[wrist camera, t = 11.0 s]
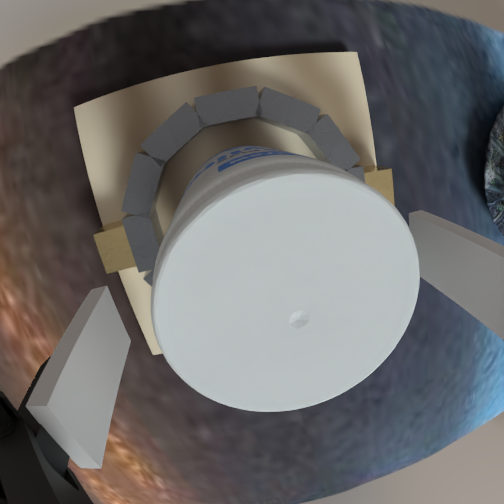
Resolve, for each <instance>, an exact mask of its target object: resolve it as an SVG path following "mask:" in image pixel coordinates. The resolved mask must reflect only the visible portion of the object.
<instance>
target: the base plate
mask: <svg viewBox="0 0 504 504" xmlns="http://www.w3.org/2000/svg"><path fill="white" fill-rule="evenodd" d="M252 86H257V91H258V93H259V91H261V90H262V89H263V88H264V87H267V88H270V89H273V90H275V91H278V92H281V93H283V94H286V95H289V96H291V97H294V98H296V99H299V100H301V101H304V102H306V103H308V104H311V105H313V106H315V107H318V108H320V109H321V111H320V113H319V115H323V114H328V115H329V117H330V118H331V119H332V121H333V122H334V123H335V124H336V126H337V127H338V128H339V130H340V131H341V132H342V134H343V135H344V137H345V138H346V139H347V141H348V142H349V143H350V145H351V146H352V148H353V149H354V150H355V152H356V153H357V155H358V156H359V158H360V159H361V160H359V161H358V162H357V163H356V164H355V165H360V166H363V167H367V166H373V165H376V158H375V150H374V142H373V135H372V128H371V121H370V115H369V109H368V104H367V98H366V93H365V87H364V82H363V77H362V73H361V68H360V64H359V59H358V55H357V52H327V53H307V54H293V55H282V56H273V57H264V58H257V59H249V60H243V61H236V62H230V63H225V64H219V65H214V66H209V67H204V68H199V69H195V70H190V71H186V72H182V73H177V74H173V75H169V76H166V77H162V78H158V79H155V80H151V81H148V82H144V83H141V84H138V85H134V86H131V87H128V88H125V89H122V90H119V91H116V92H113V93H110V94H107V95H105V96H102V97H99V98H96V99H94V100H91V101H89V102H86V103H83V104H81V105H79V106H76V107H74V112H75V117H76V122H77V127H78V132H79V137H80V142H81V146H82V151H83V155H84V159H85V164H86V168H87V172H88V176H89V180H90V183H91V187H92V191H93V194H94V198H95V201H96V205H97V208H98V212H99V215H100V218H101V222H102V225H106V224H109V223H113V222H116V221H120V220H122V218H123V217H124V216H125V215H126V214H127V213H125V212H122V211H121V210H122V205H123V201H124V196H125V192H126V188H127V184H128V180H129V176H130V172H131V168H132V165H133V161H134V157H135V154H136V153H137V152H142V151H145V150H144V149H143V148H142V147H141V146H140V145H141V144H142V143H143V142H144V141H145V140H146V139H147V138H148V137H149V136H150V135H151V134H152V133H153V132H154V131H155V130H156V129H157V128H158V127H159V126H160V125H161V124H162V123H163V122H165V121H166V120H167V119H168V118H169V117H170V116H171V115H172V114H173V113H174V112H175V111H176V110H178V109H179V108H180V107H181V106H182V105H183V104H184V103H185V102H187V103H188V104H189V105H190V106H191V107H192V108H193V109H194V110H195V111H196V112H197V110H196V105H195V101H194V98H195V97H200V96H204V95H209V94H214V93H219V92H224V91H229V90H234V89H240V88H246V87H252ZM248 145H249V146H262V147H267V148H272V149H277V150H282V151H286V152H290V153H295V154H299V155H303V156H307V157H311V158H314V159H317V158H316V157H315V156H314V154H313V153H312V152H311V150H310V149H309V148H308V147H307V145H306V144H305V143H304V142H303V141H302V139H301V138H300V137H299V136H298V135H297V134H295V133H292V132H290V131H287V130H284V129H282V128H279V127H276V126H273V125H271V124H268V123H265V122H262V121H259V120H256V119H254V118H252V119H246V120H241V121H236V122H231V123H226V124H221V125H216V126H212V127H207V128H204V129H203V130H202V131H201V132H200V133H199V134H198V135H196V136H195V137H194V138H193V139H192V140H191V141H190V142H189V143H188V144H187V145H185V146H184V147H183V148H182V149H181V150H180V151H179V152H178V153H177V154H176V155H175V156H174V157H173V158H172V159H171V160H170V161H169V162H168V165H167V168H166V172H165V175H164V179H163V182H162V186H161V189H160V193H159V197H158V201H157V204H156V210H157V214H158V218H159V221H160V225H161V228H162V232H163V235H164V236H165V234H166V231H167V229H168V227H169V224H170V222H171V220H172V218H173V216H174V214H175V212H176V209H177V207H178V205H179V203H180V201H181V199H182V197H183V194H184V192H185V190H186V188H187V186H188V184H189V182H190V180H191V179H192V177H193V176H194V174H195V173H196V172H197V170H198V169H199V168H200V167H201V166H202V165H203V164H204V163H205V162H206V161H207V160H209V159H210V158H211V157H213V156H214V155H216V154H218V153H220V152H222V151H224V150H227V149H230V148H233V147H238V146H248ZM145 152H146V151H145ZM317 160H318V159H317ZM118 272H119V275H120V277H121V280H122V283H123V285H124V288H125V290H126V293H127V296H128V298H129V301H130V303H131V306H132V308H133V310H134V313H135V315H136V318H137V320H138V322H139V325H140V327H141V329H142V332H143V334H144V336H145V338H146V341H147V343H148V345H149V347H150V349H151V351H152V354H153V355H156V354H162V351H161V349H160V347H159V345H158V342H157V340H156V337H155V334H154V330H153V326H152V320H151V290H152V287H151V286H150V285H149V284H148V283H147V282H146V281H145V280H144V279H143V278H144V275H145V273H146V271H144V272H140V273H139V272H138V269H137V266H136V267H132V268H128V269H124V270H120V271H118Z"/></svg>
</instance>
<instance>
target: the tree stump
mask: <svg viewBox="0 0 504 504" xmlns="http://www.w3.org/2000/svg"><path fill="white" fill-rule="evenodd" d="M484 179H485V191H486V199H487V205H488V208H489V210H490V212H491V215H492V219H493V222H494V224H496V225H497V226H498V228H499V230H500V232H501V233H502V234H503V235H504V105H503V106H502V108H501V109H500V111H499V112H498V114H497V117H496V120H495V122H494V124H493V126H492V129H491V132H490V136H489V139H488V143H487V147H486V149H485V165H484Z"/></svg>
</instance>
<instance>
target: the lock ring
mask: <svg viewBox="0 0 504 504" xmlns="http://www.w3.org/2000/svg"><path fill="white" fill-rule="evenodd" d="M194 101H195V105H196V110H197V112H196V111H195V110H194V109H193V108H192V107H191V106H190V105H189V104H188V103H187V102H185V103H184V104H183V105H182V106H181V107H180V108H179V109H178V110H176V111H175V112H174V113H173V114H172V115H171V116H170V117H169V118H168V119H167V120H166V121H165V122H163V123H162V124H161V125H160V126H159V127H158V128H157V129H156V130H155V131H154V132H153V133H152V134H151V135H150V136H149V137H148V138H147V139H146V140H145V141H144V142H143V143H142V144H141V145H140V146H141V147H142V148H143V149H144V150H145V151H146V152H145V151H142V152H137V153H136V154H135V157H134V161H133V165H132V168H131V172H130V176H129V180H128V184H127V188H126V192H125V196H124V201H123V205H122V210H121V211H122V212H125V213H127V214H126V215H125V216H124V217H123V218H122V220H120V221H116V222H113V223H109V224H106V225H103V226H102V227H101V228H100V229H99V230H98V231H97V232H96V233H95V234H93V236H94V239H95V242H96V245H97V247H98V250H99V253H100V256H101V259H102V262H103V264H104V267H105V270H106V272H107V274H108V273H112V272H116V271H120V270H124V269H128V268H132V267H136V266H137V269H138V272H139V273H140V272H144V271H146V273H145V275H144V278H143V279H144V280H145V281H146V282H147V283H148V284H149V285H150V286H151V287H152V284H153V273H154V267H155V262H156V258H157V255H158V251H159V248H160V246H161V243H162V241H163V238H164V235H163V232H162V228H161V225H160V221H159V218H158V214H157V210H156V204H157V201H158V197H159V193H160V189H161V186H162V182H163V179H164V175H165V172H166V168H167V165H168V162H169V161H170V160H171V159H172V158H173V157H174V156H175V155H176V154H177V153H178V152H179V151H180V150H181V149H182V148H183V147H184V146H185V145H187V144H188V143H189V142H190V141H191V140H192V139H193V138H194V137H195V136H196V135H198V134H199V133H200V132H201V131H202V130H203V129H204V128H207V127H212V126H216V125H221V124H226V123H231V122H236V121H241V120H246V119H252V118H254V119H256V120H259V121H262V122H265V123H268V124H271V125H273V126H276V127H279V128H282V129H284V130H287V131H290V132H292V133H295V134H297V135H298V136H299V137H300V138H301V139H302V141H303V142H304V143H305V144H306V145H307V147H308V148H309V149H310V150H311V152H312V153H313V154H314V156H315V157H316V158H317V159H318V160H320V161H324V162H327V163H330V164H332V165H335V166H337V167H339V168H342V169H343V170H345V171H347V172H349V173H350V174H352V175H354V176H355V177H357V178H358V179H360V180H361V181H363V182H364V183H366V184H368V185H370V186H371V187H373V188H374V189H375V190H377V191H378V192H380V193H381V194H382V195H383V196H384V197H385V198H386V199H388V200H389V201H390V202H391V203H392V204H393V205H394V192H393V180H392V169H390V168H386V167H381V166H377V165H373V166H367V167H363V166H360V165H355V164H356V163H357V162H358V161H359V160H361V159H360V158H359V156H358V155H357V153H356V152H355V150H354V149H353V148H352V146H351V145H350V143H349V142H348V141H347V139H346V138H345V137H344V135H343V134H342V132H341V131H340V130H339V128H338V127H337V126H336V124H335V123H334V122H333V121H332V119H331V118H330V117H329V115H328V114H323V115H319V113H320V111H321V109H320V108H318V107H315V106H313V105H311V104H308V103H306V102H304V101H301V100H299V99H296V98H294V97H291V96H289V95H286V94H283V93H281V92H278V91H275V90H273V89H270V88H267V87H264V88H263V89H262V90H261V91H259V93H258V91H257V86H252V87H246V88H240V89H234V90H229V91H224V92H219V93H214V94H209V95H204V96H200V97H195V98H194Z"/></svg>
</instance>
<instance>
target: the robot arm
mask: <svg viewBox="0 0 504 504" xmlns="http://www.w3.org/2000/svg"><path fill="white" fill-rule="evenodd" d="M409 229H410V232H411V234H412V236H413V239H414V242H415V245H416V249H417V253H418V259H419V271H420V277H421V278H423V279H424V280H426V281H427V282H428V283H430V284H431V285H433V286H434V287H435V288H437V289H438V290H440V291H441V292H442V293H444V294H445V295H446V296H448V297H449V298H450V299H452V300H453V301H454V302H456V303H457V304H458V305H460V306H461V307H462V308H464V309H465V310H466V311H468V312H469V313H470V314H472V315H473V316H474V317H475V318H477V319H478V320H479V321H481V322H482V323H483V324H484V325H486V326H487V327H488V328H489V329H491V330H492V331H493V332H494V333H496V334H497V335H498V336H499V337H500V338H502V339H503V340H504V246H502V245H500V244H498V243H496V242H494V241H492V240H490V239H488V238H486V237H483V236H481V235H479V234H477V233H475V232H472V231H470V230H468V229H466V228H463V227H461V226H459V225H456V224H454V223H452V222H449V221H447V220H445V219H442V218H440V217H437V216H435V215H432V214H430V213H427V212H425V211H422V210H420V211H416V212H412V213H409ZM130 342H131V340H130V338H129V336H128V334H127V331H126V329H125V327H124V325H123V323H122V320H121V318H120V316H119V313H118V311H117V309H116V306H115V304H114V302H113V299H112V297H111V294H110V292H109V289H108V287H107V286H104V287H100V288H96V289H92V290H91V291H90V292H89V294H88V295H87V297H86V299H85V300H84V302H83V303H82V305H81V306H80V308H79V310H78V311H77V313H76V315H75V316H74V318H73V319H72V321H71V323H70V324H69V326H68V328H67V329H66V331H65V333H64V335H63V336H62V338H61V340H60V341H59V343H58V345H57V347H56V348H55V350H54V352H53V354H52V356H51V357H49V358H48V359H47V360H46V361H45V362H44V363H43V364H42V365H41V367H40V368H39V370H38V372H37V374H36V376H35V379H33V381H32V383H31V387H29V389H28V391H27V393H26V395H25V397H24V399H23V401H22V403H21V405H20V407H19V409H18V411H17V410H16V409H15V408H14V406H13V405H12V404H11V402H10V401H9V400H8V398H7V397H6V396H5V394H4V393H3V392H1V391H0V504H93V502H92V501H91V500H90V498H89V497H88V495H87V494H86V492H85V490H84V489H83V487H82V486H81V484H80V483H79V481H78V479H77V478H76V476H75V474H74V473H73V472H72V471H71V470H70V469H69V468H68V467H67V465H68V461H69V457H70V458H71V459H72V460H73V461H74V462H75V463H76V464H77V465H78V466H79V467H80V468H100V469H101V468H102V462H103V457H104V451H105V446H106V441H107V436H108V431H109V427H110V422H111V417H112V413H113V409H114V404H115V400H116V396H117V392H118V388H119V384H120V380H121V376H122V372H123V368H124V364H125V360H126V357H127V353H128V350H129V346H130Z"/></svg>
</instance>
